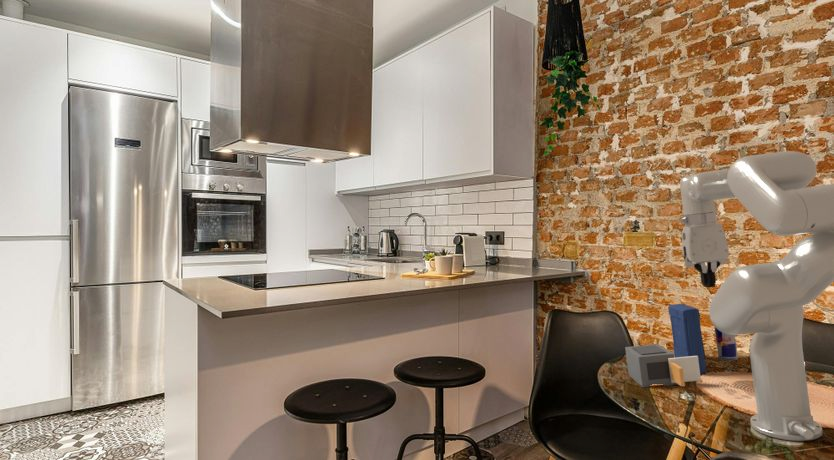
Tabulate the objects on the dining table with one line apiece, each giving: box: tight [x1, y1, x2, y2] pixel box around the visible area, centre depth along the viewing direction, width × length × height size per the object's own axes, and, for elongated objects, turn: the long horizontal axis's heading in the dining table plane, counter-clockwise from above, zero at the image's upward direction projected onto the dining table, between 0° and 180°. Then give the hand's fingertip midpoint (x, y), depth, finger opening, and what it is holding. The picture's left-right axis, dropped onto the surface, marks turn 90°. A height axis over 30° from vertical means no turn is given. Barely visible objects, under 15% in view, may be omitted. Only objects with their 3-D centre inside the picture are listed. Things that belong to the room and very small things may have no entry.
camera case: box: [624, 343, 678, 388], centre depth 141 cm, size 12×10×9 cm
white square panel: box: [668, 356, 702, 387], centre depth 131 cm, size 7×8×7 cm
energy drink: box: [713, 325, 739, 362], centre depth 151 cm, size 5×5×12 cm
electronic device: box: [667, 303, 707, 375], centre depth 146 cm, size 10×5×20 cm, turn 179°
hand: (709, 286), depth 126 cm, fingers closed
